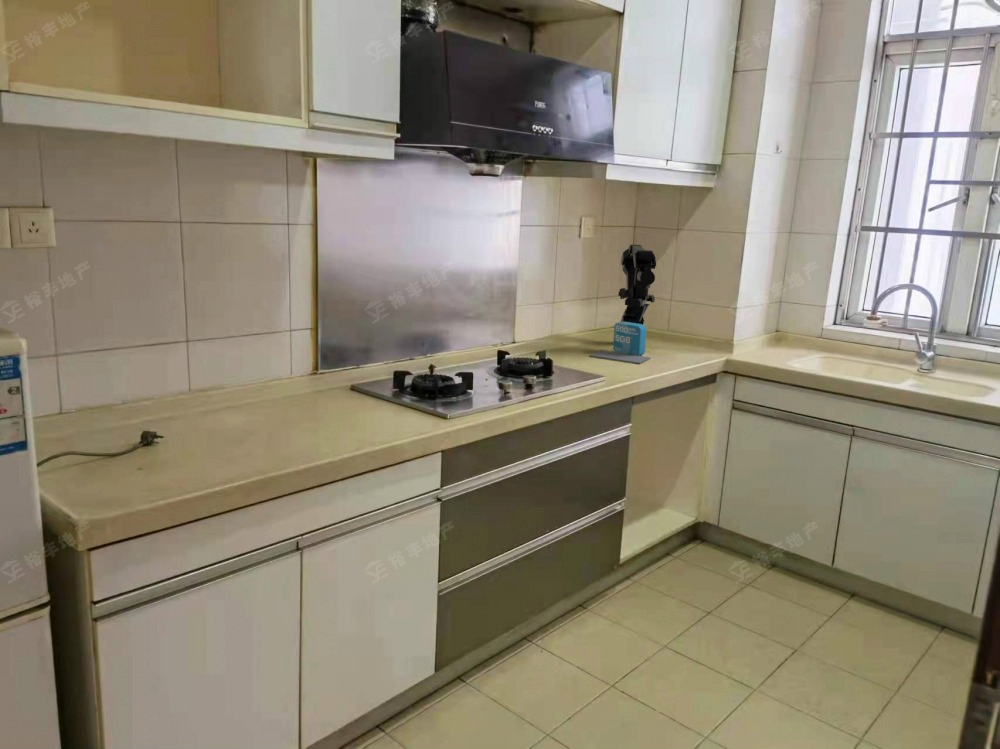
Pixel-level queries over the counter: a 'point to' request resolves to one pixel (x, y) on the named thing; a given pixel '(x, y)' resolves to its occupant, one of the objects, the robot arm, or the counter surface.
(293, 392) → the counter surface
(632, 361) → the mat
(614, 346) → the light blue flat block
